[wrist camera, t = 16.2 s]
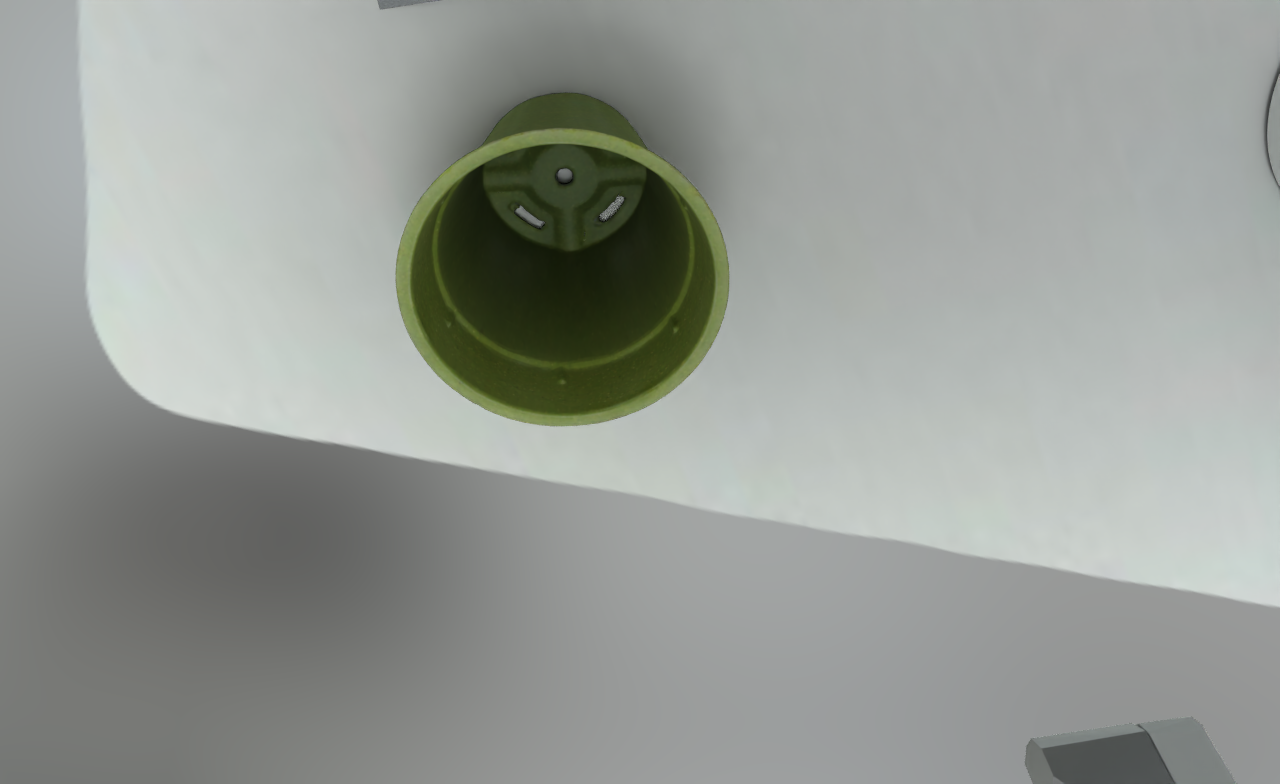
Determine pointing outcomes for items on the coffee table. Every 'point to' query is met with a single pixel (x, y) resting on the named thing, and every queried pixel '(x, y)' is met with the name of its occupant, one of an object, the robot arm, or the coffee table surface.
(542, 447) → the coffee table surface
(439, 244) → the plant pot
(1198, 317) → the coffee table surface
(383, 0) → the tray
